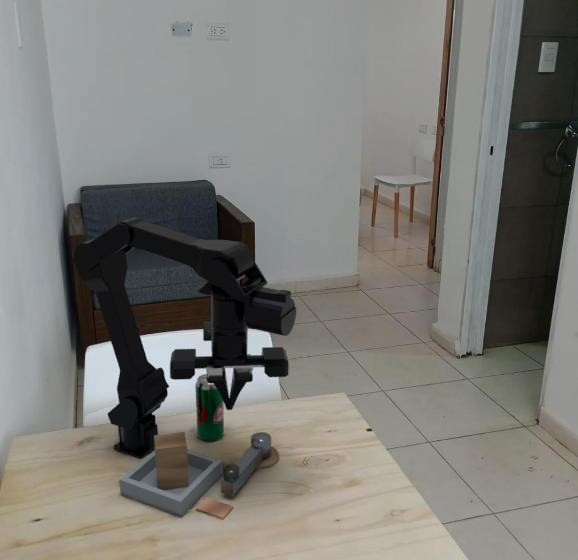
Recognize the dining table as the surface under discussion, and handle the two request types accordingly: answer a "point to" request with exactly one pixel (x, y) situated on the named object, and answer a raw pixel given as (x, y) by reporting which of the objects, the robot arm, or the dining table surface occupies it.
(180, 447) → the block
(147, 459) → the tray
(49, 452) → the dining table surface
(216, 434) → the soda can
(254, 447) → the lever
